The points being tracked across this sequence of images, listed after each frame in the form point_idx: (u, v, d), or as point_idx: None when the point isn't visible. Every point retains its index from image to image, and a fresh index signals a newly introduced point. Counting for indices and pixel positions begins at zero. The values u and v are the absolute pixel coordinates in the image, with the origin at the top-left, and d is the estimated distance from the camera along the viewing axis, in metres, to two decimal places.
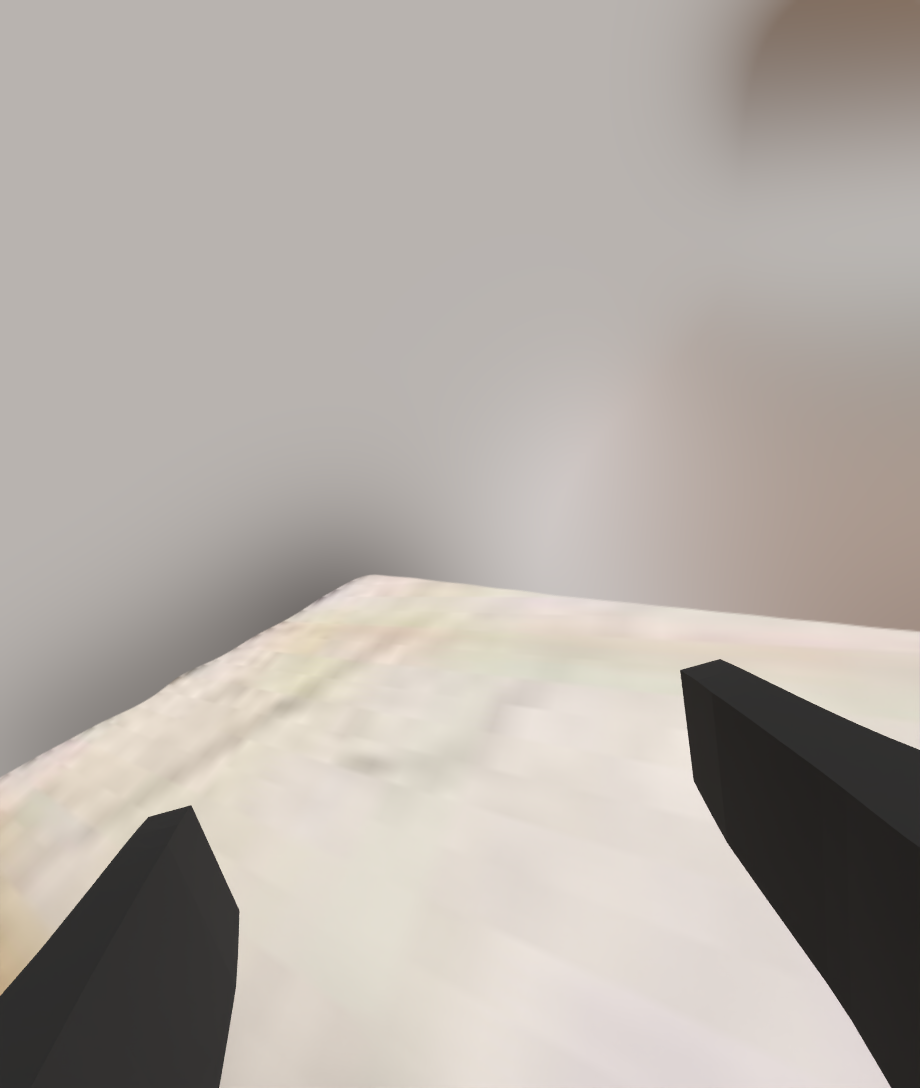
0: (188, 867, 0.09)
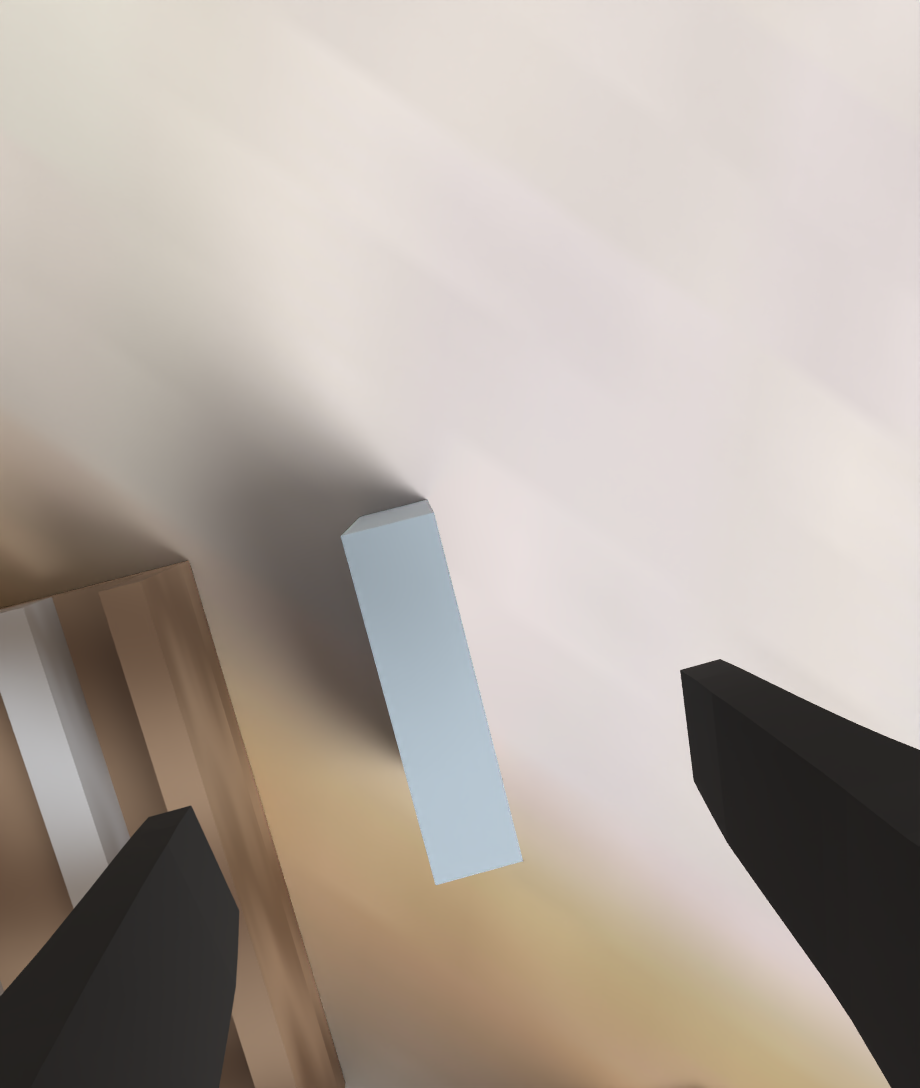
0: (187, 867, 0.09)
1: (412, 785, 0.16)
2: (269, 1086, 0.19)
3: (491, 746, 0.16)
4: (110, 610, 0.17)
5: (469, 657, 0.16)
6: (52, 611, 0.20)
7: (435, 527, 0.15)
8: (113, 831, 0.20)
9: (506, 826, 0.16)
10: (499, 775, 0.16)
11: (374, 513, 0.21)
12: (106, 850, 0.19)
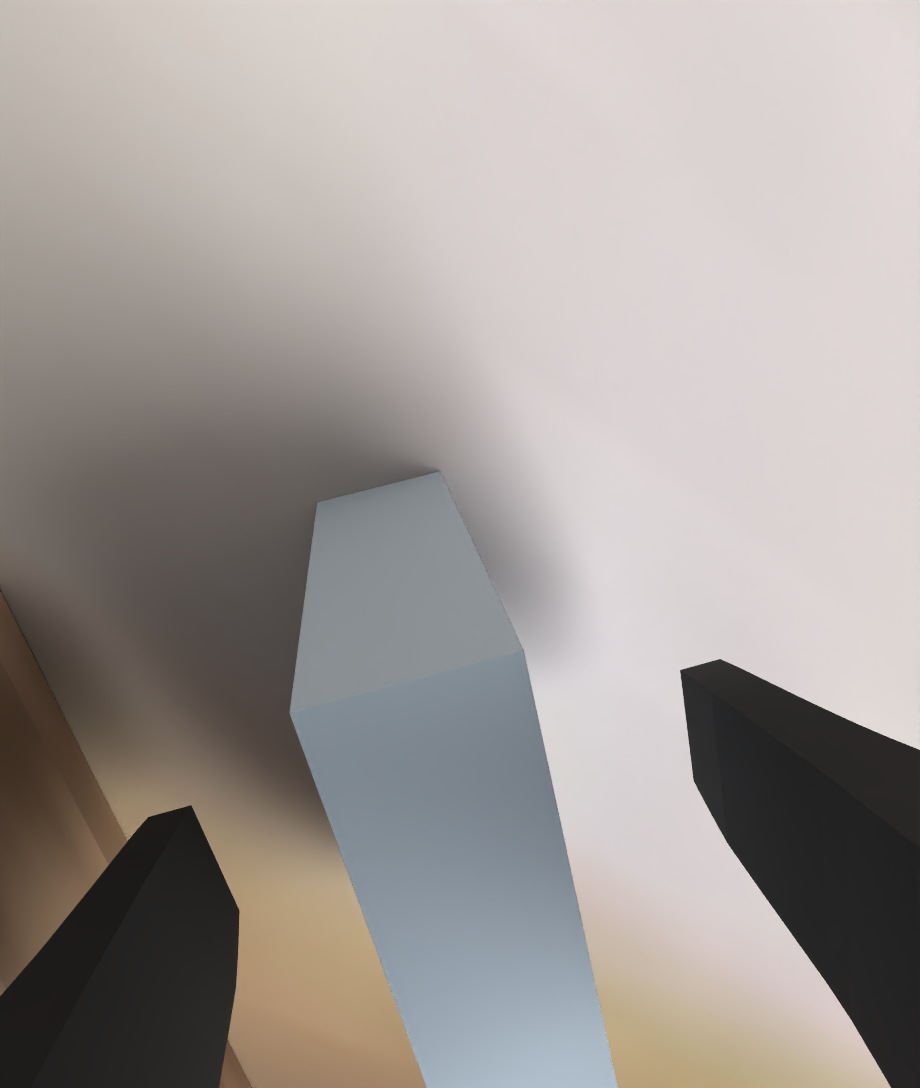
0: (187, 867, 0.09)
1: None
2: None
3: (606, 1056, 0.08)
4: None
5: (579, 926, 0.07)
6: None
7: (524, 682, 0.06)
8: None
9: None
10: None
11: (345, 500, 0.11)
12: None
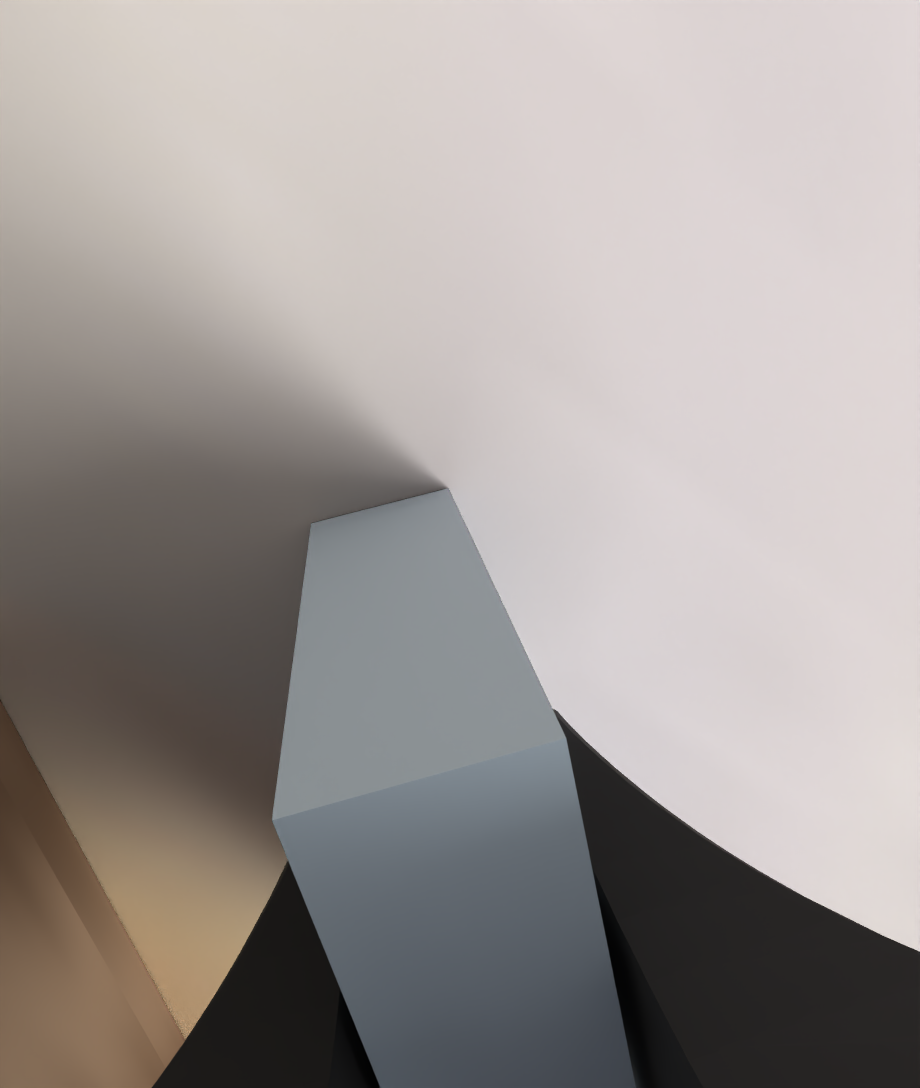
0: None
1: None
2: None
3: None
4: None
5: (625, 1052, 0.06)
6: None
7: (567, 775, 0.05)
8: None
9: None
10: None
11: (342, 523, 0.10)
12: None
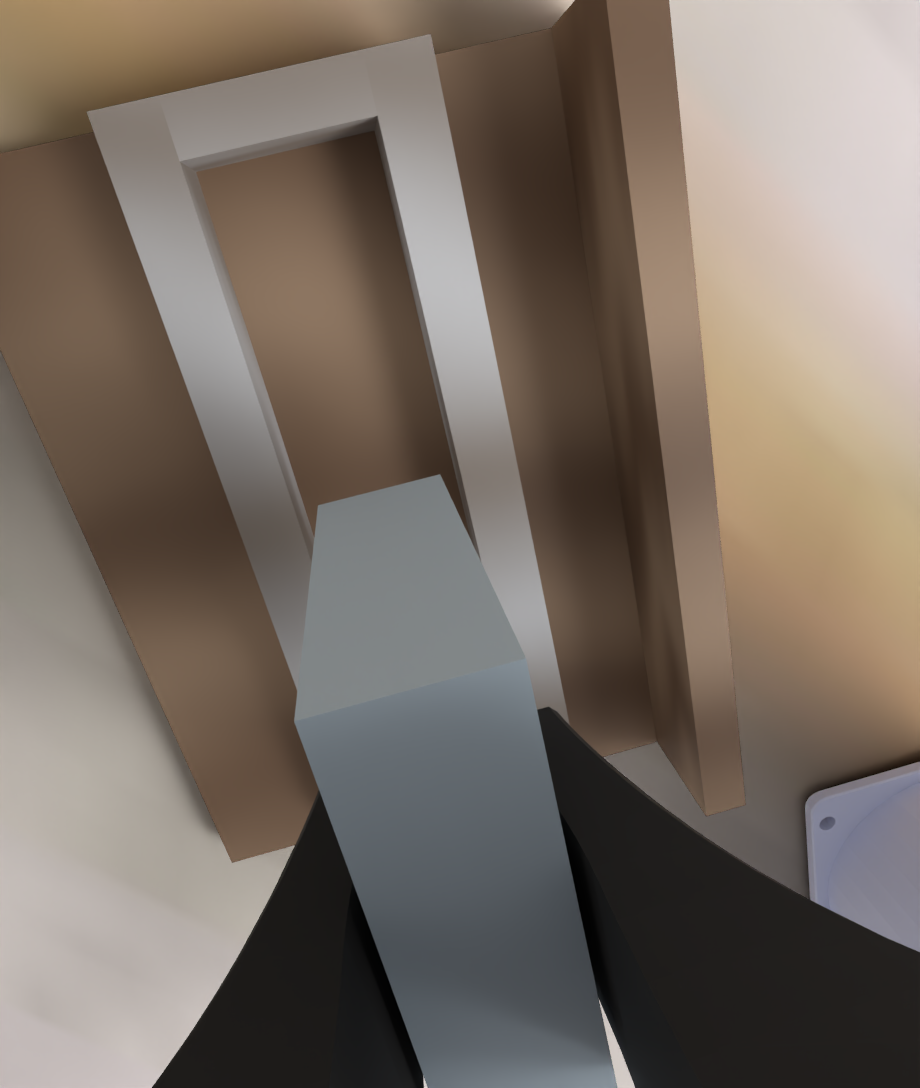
0: None
1: None
2: (705, 683, 0.16)
3: (606, 1057, 0.08)
4: (613, 5, 0.11)
5: (581, 929, 0.07)
6: None
7: (527, 689, 0.06)
8: None
9: None
10: None
11: (345, 504, 0.11)
12: None
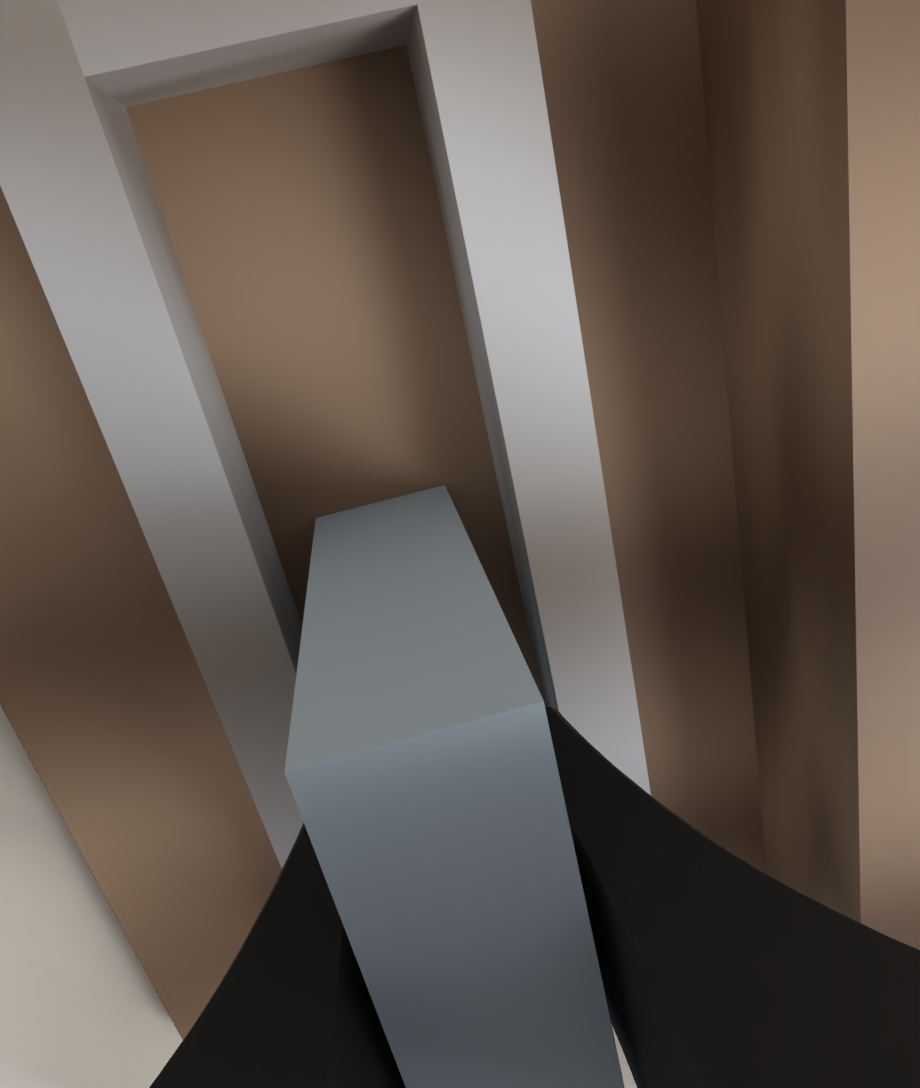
0: None
1: None
2: (881, 871, 0.11)
3: None
4: None
5: (601, 991, 0.07)
6: None
7: (544, 735, 0.06)
8: None
9: None
10: None
11: (345, 517, 0.11)
12: None
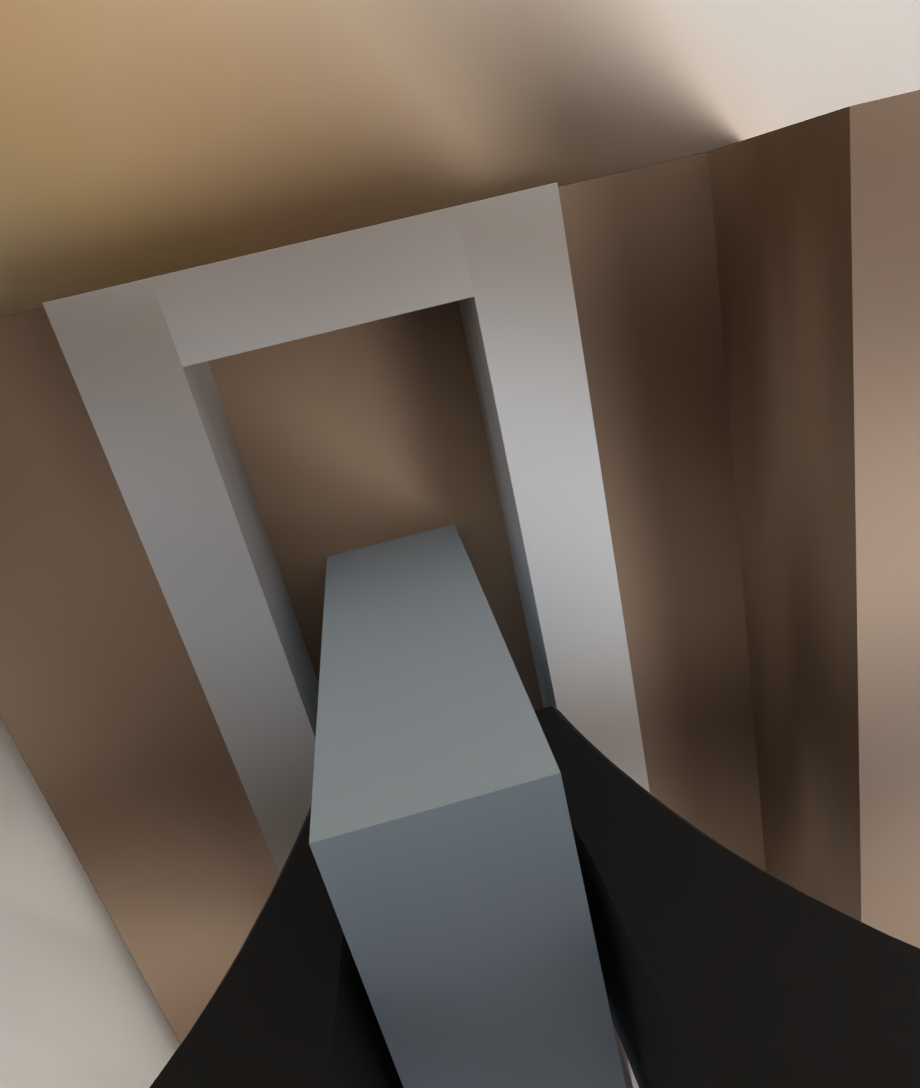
0: None
1: None
2: None
3: None
4: (859, 159, 0.07)
5: (614, 1044, 0.07)
6: None
7: (561, 804, 0.06)
8: None
9: None
10: None
11: (356, 557, 0.11)
12: None
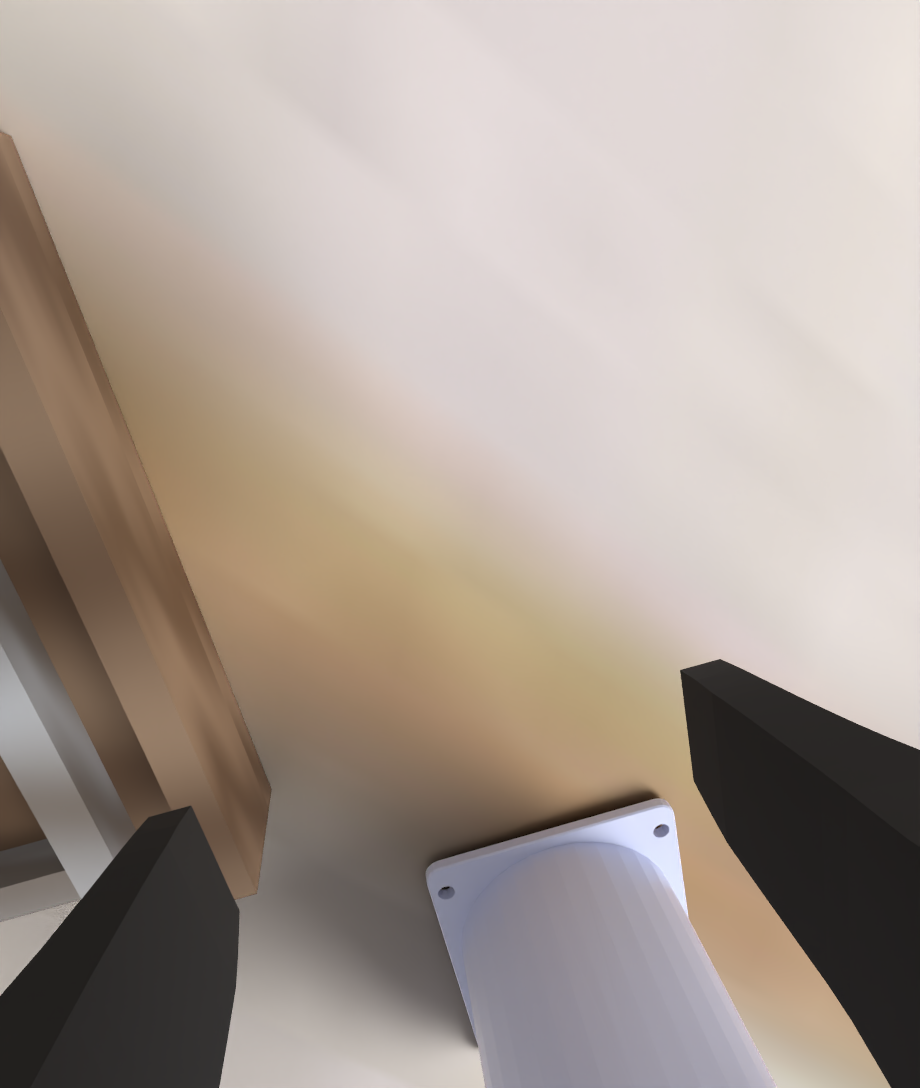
0: (188, 868, 0.09)
1: None
2: (174, 780, 0.16)
3: None
4: None
5: None
6: None
7: None
8: None
9: None
10: None
11: None
12: None
